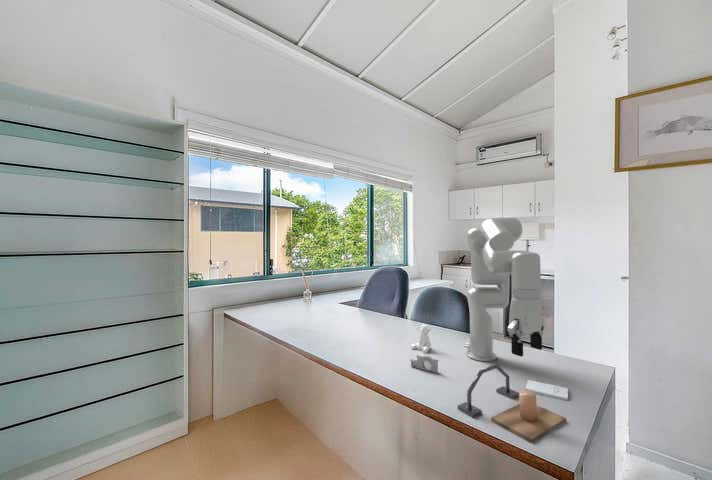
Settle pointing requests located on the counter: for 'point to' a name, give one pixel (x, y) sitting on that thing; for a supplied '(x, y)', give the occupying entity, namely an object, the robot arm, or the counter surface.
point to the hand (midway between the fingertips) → (527, 351)
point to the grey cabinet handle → (502, 390)
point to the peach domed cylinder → (528, 405)
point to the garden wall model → (421, 363)
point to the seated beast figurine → (423, 340)
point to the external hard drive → (547, 390)
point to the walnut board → (526, 428)
